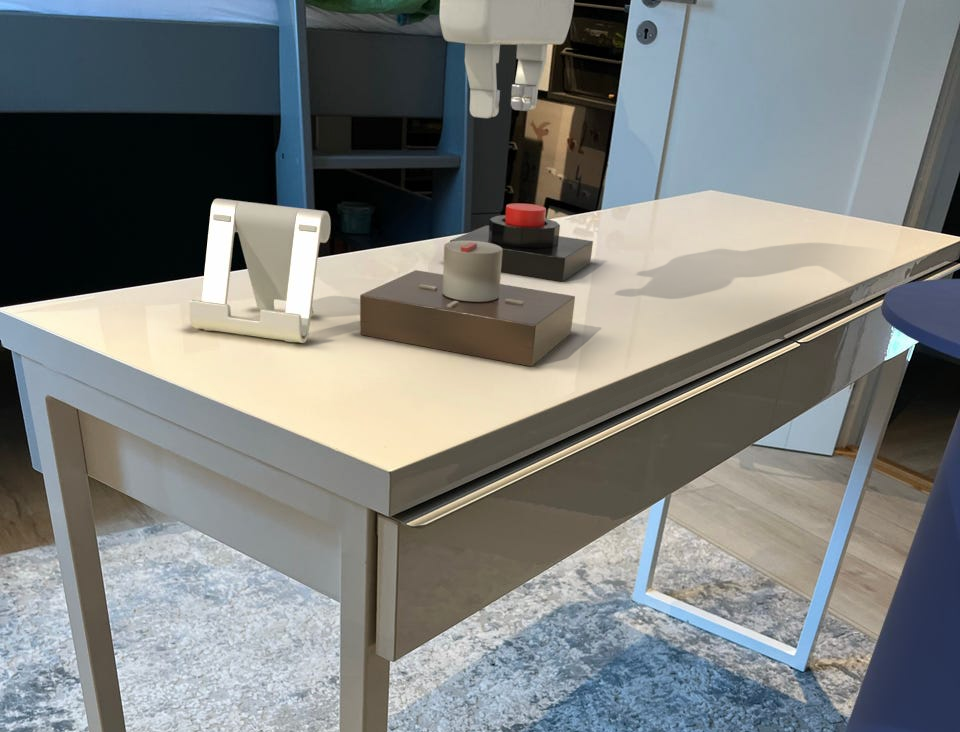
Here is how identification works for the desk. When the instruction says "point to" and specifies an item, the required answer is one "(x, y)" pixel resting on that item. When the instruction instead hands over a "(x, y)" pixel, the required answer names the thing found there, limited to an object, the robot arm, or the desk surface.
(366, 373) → the desk surface
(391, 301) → the panel
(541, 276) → the button box
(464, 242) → the dial
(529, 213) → the button
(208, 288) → the tablet stand
